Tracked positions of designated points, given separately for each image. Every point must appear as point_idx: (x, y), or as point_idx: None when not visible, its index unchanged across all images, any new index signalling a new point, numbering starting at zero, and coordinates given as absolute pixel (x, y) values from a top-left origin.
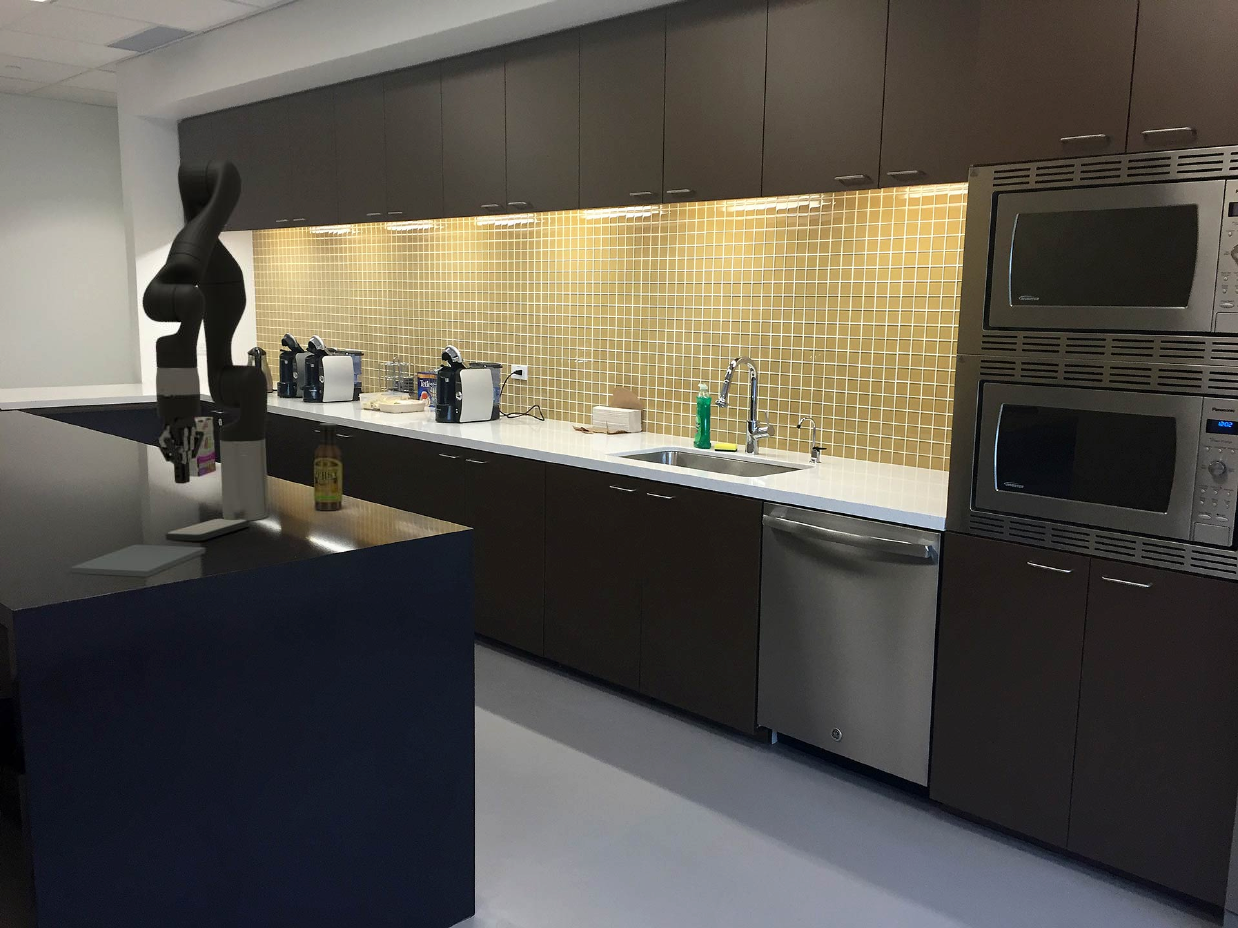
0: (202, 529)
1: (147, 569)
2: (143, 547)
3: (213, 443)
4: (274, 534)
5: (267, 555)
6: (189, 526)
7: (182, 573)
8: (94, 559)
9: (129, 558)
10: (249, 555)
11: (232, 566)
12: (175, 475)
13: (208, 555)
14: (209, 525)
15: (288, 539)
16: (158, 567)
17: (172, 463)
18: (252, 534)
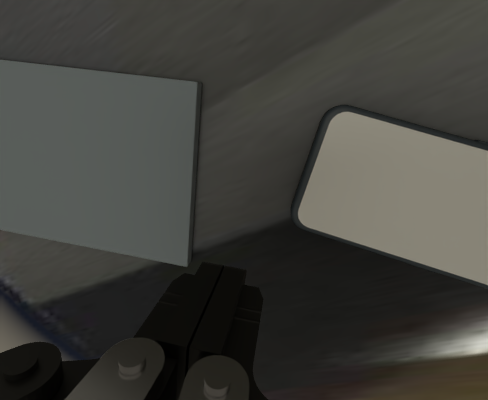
0: (372, 204)
1: (3, 224)
2: (166, 124)
3: None
4: (393, 350)
5: None
6: (445, 140)
7: (42, 270)
8: (33, 68)
9: (63, 147)
10: None
11: (103, 331)
12: (164, 297)
13: (172, 272)
14: (443, 202)
15: (333, 382)
16: (27, 234)
17: (134, 339)
18: (398, 305)
